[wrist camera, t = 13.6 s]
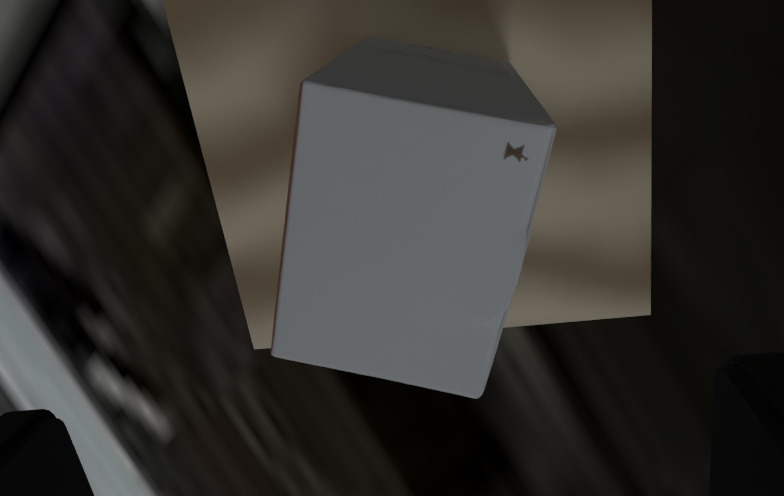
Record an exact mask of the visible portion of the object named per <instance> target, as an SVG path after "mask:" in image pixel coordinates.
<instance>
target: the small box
mask: <svg viewBox="0 0 784 496" xmlns="http://www.w3.org/2000/svg"><path fill="white" fill-rule="evenodd" d="M556 129H557V127H556V124H555V122H554V121H553V120H552V119H551V118H550V116H549V115H548V113H547V112H546V110H545V109H544V108H543V106H542V105H541V104H540V102H539V101H538V100H537V98H536V97H535V96H534V94H533V93H532V92H531V90H530V89H529V88H528V86H527V85H526V84H525V82H524V81H523V79H522V78H521V77H520V75H519V74H518V73H517V71H516V70H515V69H514V67H513V66H512V65H511V63H509V62H505V61H500V60H494V59H489V58H484V57H479V56H474V55H468V54H463V53H458V52H453V51H447V50H442V49H437V48H432V47H427V46H421V45H416V44H411V43H406V42H402V41H396V40H391V39H386V38H381V37H375V36H367V37H365V38H364V39H362V40H361V41H360V42H358V43H356V44H355V45H353V46H352V47H350V48H349V49H347V50H346V51H345V52H343V53H342V54H340V55H339V56H337V57H336V58H335V59H333V60H332V61H330V62H329V63H327V64H326V65H324V66H323V67H322V68H320V69H319V70H317V71H316V72H314V73H313V74H312V75H310V76H308V77H307V78H306V79H304V80H302V81H301V83H300V89H299V97H298V106H297V115H296V124H295V132H294V141H293V149H292V158H291V167H290V176H289V186H288V195H287V204H286V213H285V224H284V232H283V240H282V249H281V258H280V268H279V279H278V287H277V297H276V306H275V314H274V324H273V334H272V343H271V353H270V354H271V355H272V356H274V357H278V358H282V359H288V360H293V361H298V362H302V363H307V364H312V365H318V366H323V367H328V368H333V369H338V370H343V371H348V372H353V373H358V374H363V375H368V376H373V377H378V378H383V379H388V380H392V381H397V382H402V383H406V384H411V385H416V386H420V387H425V388H430V389H434V390H439V391H443V392H448V393H453V394H457V395H462V396H466V397H470V398H479V397H480V396H481V395H482V394H483V392H484V389H485V385H486V382H487V379H488V376H489V373H490V369H491V366H492V363H493V360H494V356H495V353H496V350H497V346H498V343H499V339H500V336H501V332H502V329H503V326H504V323H505V319H506V316H507V312H508V309H509V306H510V302H511V299H512V296H513V293H514V291H515V288H516V285H517V282H518V279H519V276H520V272H521V268H522V265H523V260H524V256H525V253H526V250H527V247H528V242H529V236H530V231H531V226H532V221H533V217H534V213H535V209H536V206H537V202H538V198H539V194H540V190H541V187H542V183H543V180H544V176H545V172H546V168H547V164H548V160H549V157H550V153H551V149H552V145H553V142H554V138H555V134H556Z"/></svg>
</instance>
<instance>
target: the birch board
mask: <svg viewBox="0 0 784 496" xmlns="http://www.w3.org/2000/svg"><path fill="white" fill-rule="evenodd" d="M162 1H163V5H164V8H165V12H166V16H167V20H168V24H169V27H170V31H171V35H172V39H173V43H174V46H175V50H176V54H177V58H178V62H179V65H180V69H181V73H182V77H183V81H184V84H185V88H186V92H187V96H188V100H189V103H190V107H191V111H192V115H193V119H194V122H195V126H196V130H197V134H198V138H199V141H200V145H201V149H202V153H203V157H204V160H205V164H206V168H207V172H208V176H209V179H210V183H211V187H212V191H213V195H214V198H215V202H216V206H217V210H218V214H219V218H220V221H221V225H222V229H223V233H224V237H225V240H226V244H227V248H228V252H229V256H230V259H231V263H232V267H233V271H234V275H235V278H236V282H237V286H238V290H239V294H240V297H241V301H242V305H243V309H244V313H245V316H246V320H247V324H248V328H249V332H250V335H251V339H252V343H253V347H254V349H263V348H271V343H272V334H273V324H274V314H275V306H276V297H277V287H278V279H279V268H280V258H281V249H282V240H283V232H284V224H285V213H286V204H287V195H288V186H289V176H290V167H291V158H292V149H293V141H294V132H295V124H296V115H297V106H298V97H299V89H300V83H301V81H302V80H304V79H306V78H307V77H308V76H310V75H312V74H313V73H314V72H316V71H317V70H319V69H320V68H322V67H323V66H324V65H326V64H327V63H329V62H330V61H332V60H333V59H335V58H336V57H337V56H339V55H340V54H342V53H343V52H345V51H346V50H347V49H349V48H350V47H352V46H353V45H355V44H356V43H358V42H360V41H361V40H362V39H364V38H365V37H367V36H375V37H381V38H386V39H391V40H396V41H402V42H406V43H411V44H416V45H421V46H427V47H432V48H437V49H442V50H447V51H453V52H458V53H463V54H468V55H474V56H479V57H484V58H489V59H494V60H500V61H505V62H509V63H511V65H512V66H513V67H514V69H515V70H516V71H517V73H518V74H519V75H520V77H521V78H522V79H523V81H524V82H525V84H526V85H527V86H528V88H529V89H530V90H531V92H532V93H533V94H534V96H535V97H536V98H537V100H538V101H539V102H540V104H541V105H542V106H543V108H544V109H545V110H546V112H547V113H548V115H549V116H550V118H551V119H552V120H553V121H554V122H555V124H556V127H557V129H556V134H555V138H554V142H553V145H552V149H551V153H550V157H549V160H548V164H547V168H546V172H545V176H544V180H543V183H542V187H541V190H540V194H539V198H538V202H537V206H536V209H535V213H534V217H533V221H532V226H531V231H530V236H529V242H528V247H527V250H526V253H525V256H524V260H523V265H522V268H521V272H520V276H519V279H518V282H517V285H516V288H515V291H514V293H513V296H512V299H511V302H510V306H509V309H508V312H507V316H506V319H505V323H504V326H503V328H504V327H515V326H527V325H538V324H550V323H561V322H573V321H584V320H596V319H607V318H619V317H630V316H642V315H651V106H652V0H162Z"/></svg>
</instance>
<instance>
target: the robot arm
mask: <svg viewBox="0 0 784 496" xmlns="http://www.w3.org/2000/svg"><path fill="white" fill-rule="evenodd" d="M0 496H94V494H93V491H92V489H91V487H90V484H89V482H88V479H87V477H86V474H85V472H84V470H83V467H82V465H81V462H80V460H79V457H78V455H77V453H76V450H75V448H74V445H73V443H72V440H71V438H70V435H69V433H68V431H67V428H66V426H65V424H64V423H63V421H61V420H60V419H58V418H56V417H55V415H54V414H53V413H51V412H50V411H49V410H45V409H39V410H26V411H13V412H8V413H4V414H3V415H2V416H0ZM709 496H784V354H783V353H780V352H771V353H758V354H745V355H733V356H732V357H731V358H730V360H729V362H728V367H723V368H718V369H716V372H715V376H714V394H713V417H712V440H711V463H710V486H709Z"/></svg>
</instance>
